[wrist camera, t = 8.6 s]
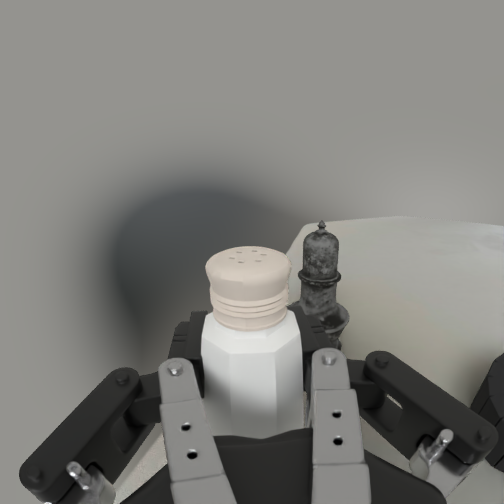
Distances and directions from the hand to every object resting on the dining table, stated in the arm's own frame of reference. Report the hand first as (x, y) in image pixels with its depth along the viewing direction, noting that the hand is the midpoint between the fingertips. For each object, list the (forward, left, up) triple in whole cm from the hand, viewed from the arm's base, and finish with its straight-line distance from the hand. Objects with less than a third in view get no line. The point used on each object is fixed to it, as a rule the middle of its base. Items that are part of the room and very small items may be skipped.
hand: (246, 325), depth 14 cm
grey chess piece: (+11, +5, -10) cm, 15 cm away
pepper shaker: (-1, -2, -7) cm, 7 cm away
